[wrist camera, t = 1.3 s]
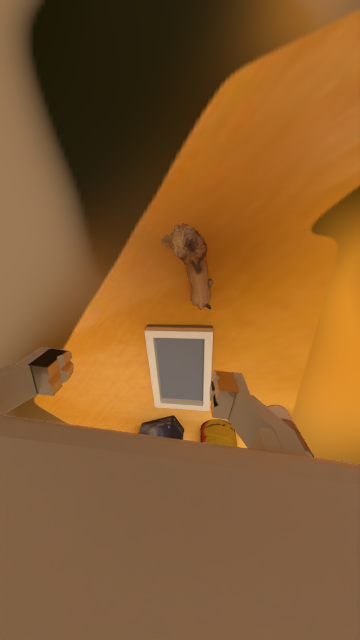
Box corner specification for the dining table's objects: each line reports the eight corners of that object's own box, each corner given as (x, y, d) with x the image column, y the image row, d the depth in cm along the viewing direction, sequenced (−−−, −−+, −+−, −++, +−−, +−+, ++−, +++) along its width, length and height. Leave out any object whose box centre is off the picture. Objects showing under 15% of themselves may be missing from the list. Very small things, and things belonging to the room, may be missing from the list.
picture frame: (212, 325, 36) (213, 332, 34) (209, 402, 45) (209, 411, 43) (148, 324, 37) (144, 330, 35) (157, 398, 46) (155, 407, 44)
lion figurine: (166, 233, 30) (153, 233, 22) (197, 219, 28) (195, 213, 20) (197, 311, 35) (195, 335, 27) (224, 303, 34) (231, 325, 26)
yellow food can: (207, 415, 47) (208, 469, 36) (240, 425, 47) (251, 481, 36) (196, 435, 51) (194, 489, 40) (227, 444, 51) (233, 500, 40)
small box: (173, 413, 48) (166, 457, 39) (184, 429, 50) (180, 474, 41) (140, 422, 51) (126, 465, 42) (152, 436, 54) (142, 480, 44)
